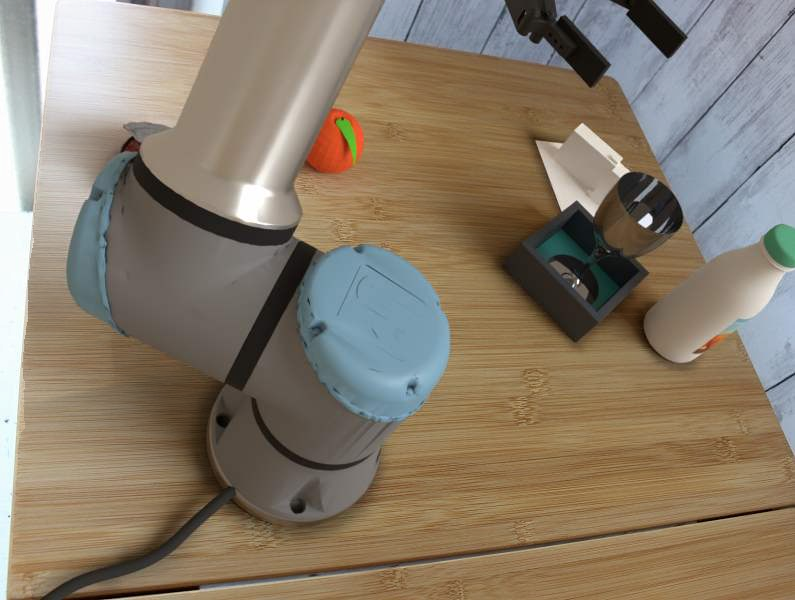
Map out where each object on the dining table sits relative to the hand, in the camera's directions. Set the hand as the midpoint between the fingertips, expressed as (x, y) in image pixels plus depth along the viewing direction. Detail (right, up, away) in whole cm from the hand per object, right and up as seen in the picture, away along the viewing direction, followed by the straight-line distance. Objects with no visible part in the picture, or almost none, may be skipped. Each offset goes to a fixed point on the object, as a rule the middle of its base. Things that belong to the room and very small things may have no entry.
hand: (641, 62), depth 80 cm
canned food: (-46, -12, +3) cm, 48 cm away
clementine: (-32, -8, +13) cm, 35 cm away
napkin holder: (+1, -9, +28) cm, 29 cm away
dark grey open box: (-4, -20, +17) cm, 27 cm away
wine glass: (-3, -21, +17) cm, 27 cm away
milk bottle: (+9, -27, +19) cm, 34 cm away
